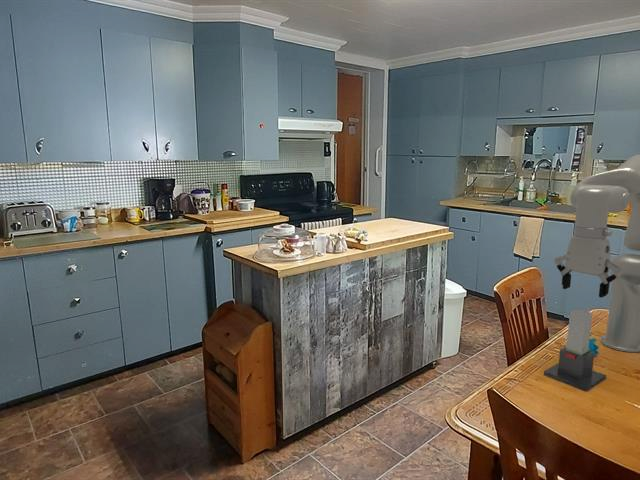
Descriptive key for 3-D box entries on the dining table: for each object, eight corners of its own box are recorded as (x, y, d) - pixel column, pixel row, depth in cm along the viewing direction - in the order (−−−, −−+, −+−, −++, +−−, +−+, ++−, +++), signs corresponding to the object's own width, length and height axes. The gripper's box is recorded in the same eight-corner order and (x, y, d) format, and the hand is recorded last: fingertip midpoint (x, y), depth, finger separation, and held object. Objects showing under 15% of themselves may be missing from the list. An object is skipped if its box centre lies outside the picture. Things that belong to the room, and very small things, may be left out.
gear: (588, 356, 139) (570, 327, 144) (573, 363, 143) (556, 335, 148) (607, 353, 144) (590, 325, 150) (592, 360, 149) (576, 333, 154)
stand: (563, 363, 138) (565, 339, 136) (605, 378, 128) (608, 352, 127) (543, 374, 131) (545, 349, 129) (586, 391, 121) (589, 364, 120)
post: (572, 353, 132) (576, 308, 129) (587, 358, 128) (593, 313, 125) (564, 357, 129) (569, 312, 126) (580, 363, 126) (585, 316, 123)
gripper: (631, 235, 117) (624, 297, 120) (564, 227, 131) (559, 282, 134) (619, 239, 113) (612, 303, 116) (551, 230, 126) (546, 287, 130)
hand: (583, 292), depth 125 cm, fingers open, 9 cm apart
